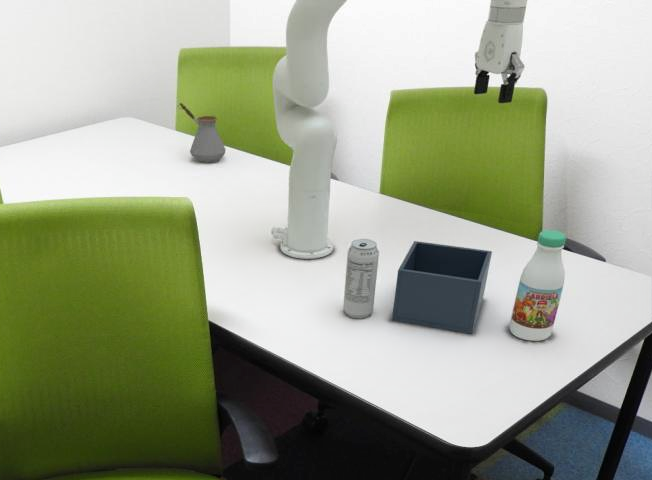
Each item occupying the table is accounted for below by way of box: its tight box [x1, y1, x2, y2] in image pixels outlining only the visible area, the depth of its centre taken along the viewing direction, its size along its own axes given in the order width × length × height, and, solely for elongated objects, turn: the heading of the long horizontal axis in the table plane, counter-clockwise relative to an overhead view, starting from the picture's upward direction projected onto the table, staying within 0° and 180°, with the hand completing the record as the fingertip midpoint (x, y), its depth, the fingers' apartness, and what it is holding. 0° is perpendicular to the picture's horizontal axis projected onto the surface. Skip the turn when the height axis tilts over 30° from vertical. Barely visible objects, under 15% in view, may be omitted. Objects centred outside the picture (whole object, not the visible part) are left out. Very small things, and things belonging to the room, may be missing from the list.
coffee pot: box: [177, 102, 226, 164], centre depth 244 cm, size 21×12×15 cm, turn 35°
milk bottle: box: [509, 229, 567, 342], centre depth 141 cm, size 8×8×20 cm
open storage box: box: [391, 240, 493, 335], centre depth 152 cm, size 16×16×11 cm
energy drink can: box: [342, 238, 380, 319], centre depth 151 cm, size 6×6×15 cm
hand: (492, 98), depth 175 cm, fingers open, 9 cm apart
